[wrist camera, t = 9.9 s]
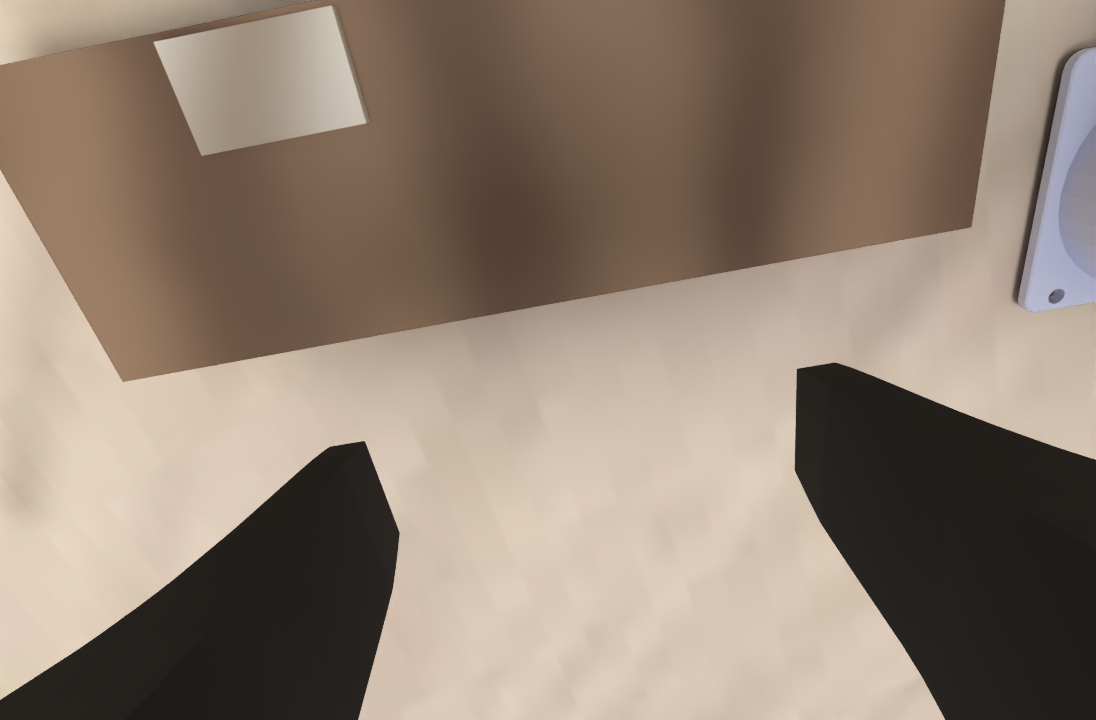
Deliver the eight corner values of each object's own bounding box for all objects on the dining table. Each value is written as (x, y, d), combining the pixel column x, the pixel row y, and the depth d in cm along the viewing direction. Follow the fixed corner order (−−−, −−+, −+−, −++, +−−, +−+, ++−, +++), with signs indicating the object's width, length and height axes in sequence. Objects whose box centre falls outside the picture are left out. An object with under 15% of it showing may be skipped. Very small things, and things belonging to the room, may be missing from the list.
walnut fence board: (936, -109, 15) (1042, -153, 12) (906, 203, 19) (981, 230, 16) (42, 74, 16) (-70, 76, 13) (177, 338, 20) (114, 388, 16)
